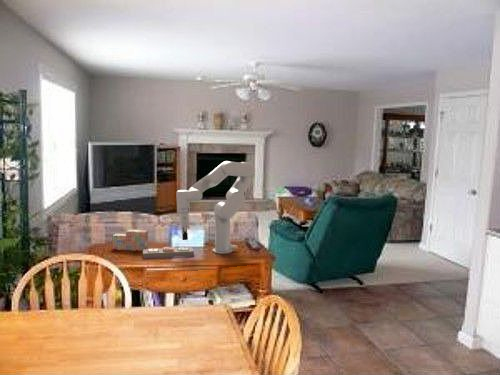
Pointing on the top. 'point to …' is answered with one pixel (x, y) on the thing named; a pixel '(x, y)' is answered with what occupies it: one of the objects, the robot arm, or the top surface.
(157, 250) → the tile one
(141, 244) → the stack of blocks
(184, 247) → the tile two
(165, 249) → the tile three
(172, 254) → the tile panel
